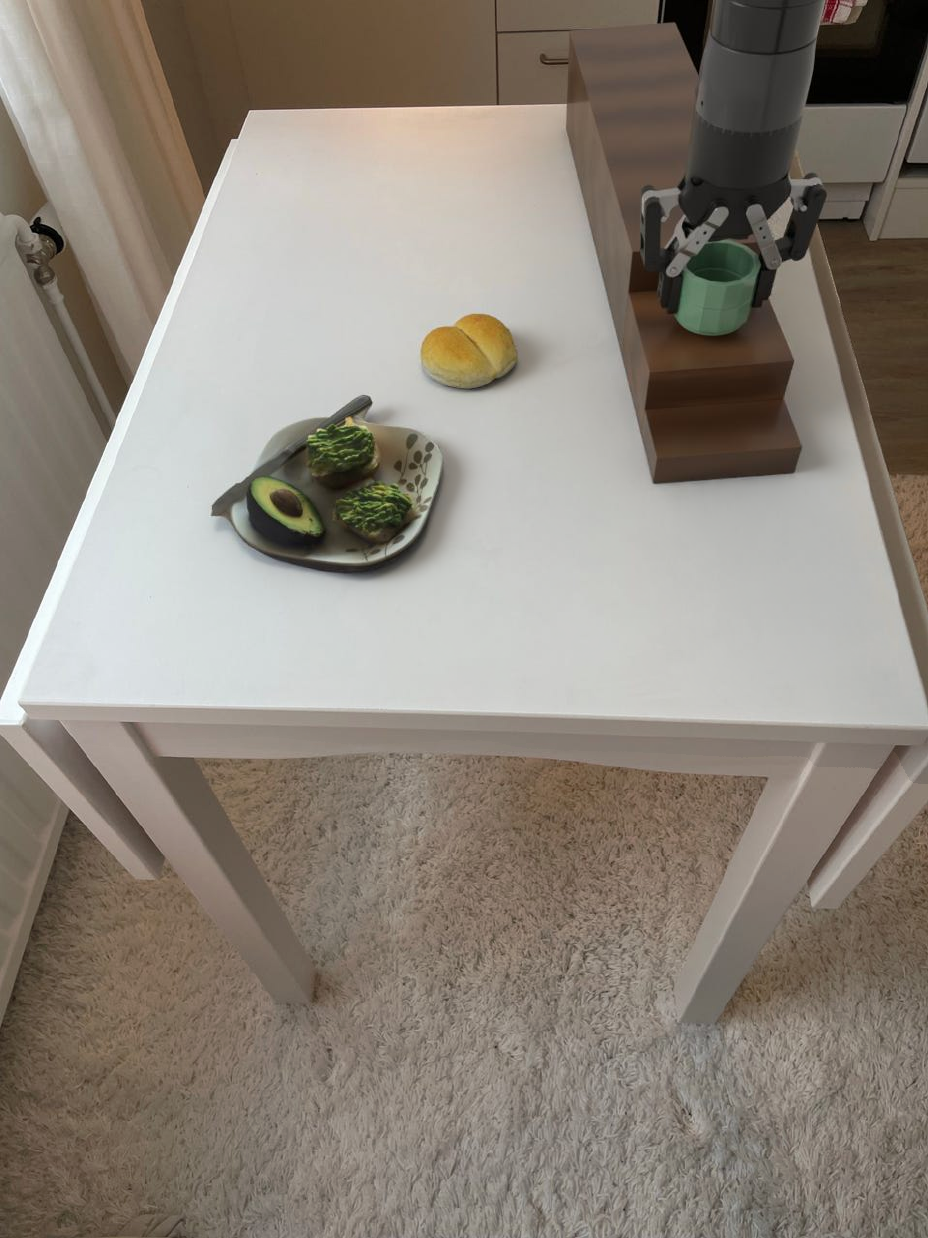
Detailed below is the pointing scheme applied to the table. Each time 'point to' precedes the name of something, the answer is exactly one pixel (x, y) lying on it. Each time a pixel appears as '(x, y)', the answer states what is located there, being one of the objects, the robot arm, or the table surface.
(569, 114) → the wooden stair steps
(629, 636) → the table surface
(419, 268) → the table surface
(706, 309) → the cup
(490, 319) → the bread roll
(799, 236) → the robot arm
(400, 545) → the salad plate
